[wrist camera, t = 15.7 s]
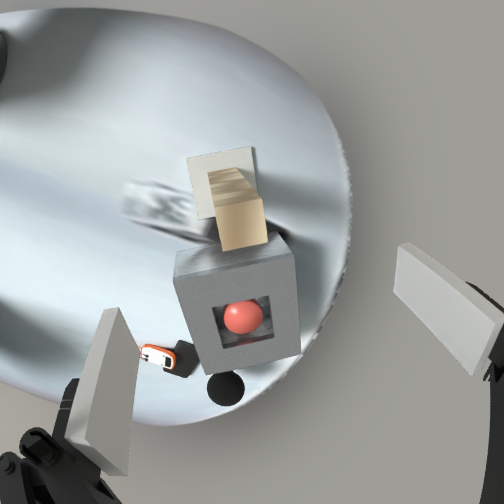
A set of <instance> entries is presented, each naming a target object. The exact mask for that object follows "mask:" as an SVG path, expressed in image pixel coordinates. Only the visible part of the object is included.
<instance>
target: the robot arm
mask: <svg viewBox="0 0 504 504" xmlns="http://www.w3.org/2000/svg"><path fill="white" fill-rule="evenodd" d="M6 59H7V47H6V42H5V39H4V37H3V35H2V34H1V33H0V83H1V80H2V77H3V74H4V70H5V66H6ZM393 292H394V293H395V294H396V295H397V296H398V297H399V298H400V299H401V301H403V302H404V304H405V305H407V307H409V309H410V310H411V311H412V312H414V314H415V315H416V316H417V317H418V318H419V319H420V320H421V321H422V322H423V323H424V324H425V325H426V326H427V327H428V328H429V329H430V330H431V332H432V333H433V334H434V335H435V336H436V337H437V338H438V339H439V340H440V341H441V342H442V343H443V345H444V346H445V347H446V348H447V349H448V350H449V351H450V352H451V353H452V354H453V356H454V357H455V358H456V359H457V360H458V361H459V362H460V363H461V364H462V366H463V367H464V368H465V369H466V370H467V372H468V373H469V374H470V375H471V376H472V375H474V374H475V373H476V372H478V371H479V370H481V369H482V368H483V367H484V365H485V363H486V361H487V359H488V358H489V359H490V360H491V361H492V362H491V364H490V366H489V368H488V370H487V372H486V373H485V375H484V378H483V381H485V380H486V378H487V377H488V375H489V374H490V378H489V380H488V381H490V401H491V402H490V404H491V405H490V433H489V446H488V456H487V464H486V471H485V478H484V484H483V489H482V494H481V499H480V503H479V504H504V308H503V307H502V306H500V305H499V304H498V303H497V302H495V301H494V300H493V299H492V298H491V299H490V297H489V296H488V295H487V294H486V293H485V294H484V292H483V291H482V290H481V289H479V288H478V287H477V286H475V285H473V284H471V283H468V282H464V281H463V280H462V279H460V278H459V277H457V276H456V275H455V274H454V273H452V272H451V271H450V270H448V269H447V268H446V267H444V266H443V265H442V264H440V263H439V262H438V261H436V260H435V259H433V258H432V257H431V256H429V255H428V254H426V253H425V252H423V251H422V250H420V249H419V248H418V247H416V246H415V245H413V244H412V243H411V242H408V243H405V244H400V245H398V252H397V263H396V273H395V282H394V290H393ZM140 353H141V352H140V350H139V348H138V346H137V344H136V342H135V340H134V338H133V336H132V334H131V332H130V330H129V328H128V326H127V324H126V322H125V320H124V317H123V315H122V313H121V311H120V309H119V307H116V308H111V309H106V310H104V311H103V314H102V316H101V319H100V321H99V324H98V327H97V329H96V332H95V335H94V338H93V341H92V343H91V346H90V349H89V352H88V355H87V358H86V361H85V364H84V367H83V370H82V374H81V377H80V378H77V379H72V380H71V382H70V383H69V384H68V386H67V387H66V389H65V392H64V395H63V398H62V400H63V401H61V405H60V410H59V412H58V415H57V419H56V422H55V426H54V430H53V434H52V436H50V435H49V434H48V433H47V432H46V431H45V430H44V429H42V428H39V427H38V428H37V427H35V428H32V429H29V430H28V431H27V432H26V433H25V434H24V435H23V436H22V438H21V440H20V445H19V448H20V453H21V454H22V455H23V456H25V457H26V458H23V459H21V458H20V457H18V456H17V455H16V454H15V453H13V452H5V453H4V454H2V455H1V456H0V501H1V504H122V503H121V502H120V500H119V499H118V498H117V497H116V495H115V494H114V493H113V492H112V490H111V489H110V488H109V486H108V485H107V484H106V483H105V481H104V480H103V479H102V478H100V472H101V470H102V471H104V472H105V473H106V474H108V475H110V476H128V461H129V446H130V434H131V423H132V413H133V404H134V395H135V387H136V380H137V373H138V366H139V359H140Z"/></svg>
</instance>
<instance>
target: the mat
mask: <svg viewBox="0 0 504 504" xmlns="http://www.w3.org/2000/svg"><path fill="white" fill-rule="evenodd" d="M186 160H187V166H188V171H189V176H190V181H191V185H192V190H193V195H194V200H195V205H196V209H197V214H198V218H199V220H200V219H204V218H209V217H214V216H216V215H215V210H214V205H213V200H212V195H211V189H210V184H209V179H208V174H207V173H208V172H213V171H218V170H223V169H228V168H234V167H236V169H237V170H238V171H239V172H240V173H241V174H242V176H243V177H244V178H245V179H246V180H247V181H248V183H249V184H250V185H251V186H252V187H253V188H254V190H255V191H256V192H257V185H256V178H255V172H254V165H253V158H252V151H251V147H243V148H237V149H232V150H226V151H220V152H215V153H210V154H205V155H200V156H195V157H190V158H186ZM257 193H258V192H257Z"/></svg>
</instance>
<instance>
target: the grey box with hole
mask: <svg viewBox="0 0 504 504" xmlns="http://www.w3.org/2000/svg"><path fill="white" fill-rule="evenodd" d="M267 238H268V242H267V243H262V244H257V245H252V246H248V247H243V248H238V249H233V250H228V251H224V252H223V249H222V244H221V243H216V244H212V245H207V246H202V247H197V248H192V249H188V250H183V251H178V252H176V258H175V266H174V274H173V284H174V287H175V290H176V293H177V296H178V300H179V303H180V306H181V309H182V312H183V315H184V317H185V320H186V323H187V326H188V329H189V332H190V335H191V337H192V340H193V343H194V346H195V348H196V351H197V354H198V356H199V359H200V362H201V364H202V367H203V369H204V372H205V375H210V374H216V373H221V372H226V371H231V370H236V369H241V368H246V367H250V366H255V365H259V364H263V363H268V362H272V361H276V360H280V359H284V358H288V357H292V356H296V355H299V354H301V339H300V323H299V308H298V294H297V282H296V269H295V258H294V255H293V253H292V252H291V250H290V249H289V247H288V246H287V245H286V243H285V242H284V240H283V239H282V238H281V236H280V235H279V233H278V232H277V231H275V232H270V233H267ZM250 299H255V300H256V301H257V302H258V303H259V305H260V308H261V310H262V314H263V319H262V322H261V324H260V325H259V327H258V328H256V329H255V330H254V331H252V332H249V333H244V334H239V333H234V332H232V331H230V330H229V329H228V328H227V327H226V325H225V323H224V317H223V310H224V307H225V305H226V304H231V303H236V302H240V301H245V300H250Z"/></svg>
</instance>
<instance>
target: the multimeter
mask: <svg viewBox="0 0 504 504" xmlns="http://www.w3.org/2000/svg"><path fill="white" fill-rule="evenodd" d="M140 354H141V357H140V358H142V359H143V360H145V361H148V362H152V363H155V364H158V365H161V366H163V370H164V371H165V372H168V373H171V374H174V375H177V376H180V377H183V378H187V377H188V376H189V375H190V373H191V372H192V370H193V369H194V367H195V366H196V364H197V363H198V362H199V360H200V359H199V356H198V354H197V351H196V348H195V346H194V345H193V344H190V343H187V342H185V341H182V340H179V341H178V342H177V344H176V346H175V348H174V350H173V351H172V352H171V351H169V350H166V349H163V348H160V347H158V346H155V345H150V344H145V345H144V346H143V347H142V349H141V353H140Z"/></svg>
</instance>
